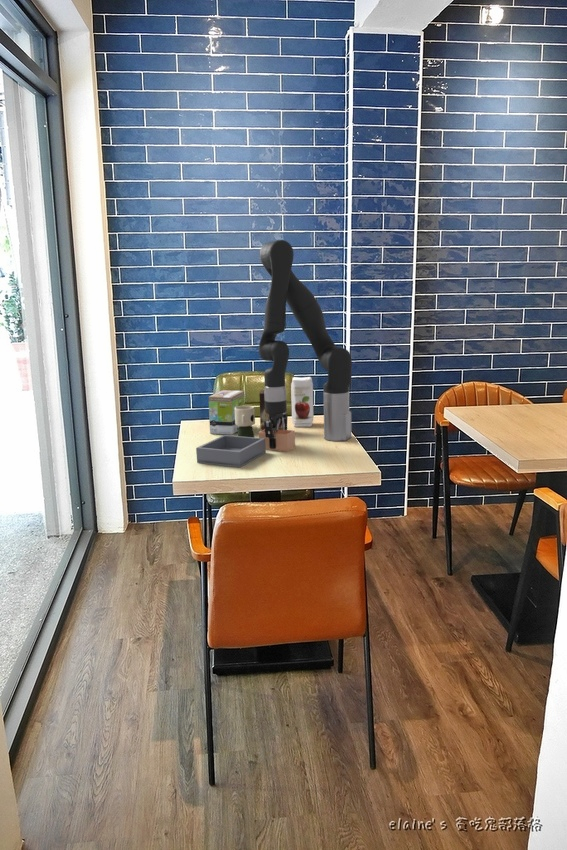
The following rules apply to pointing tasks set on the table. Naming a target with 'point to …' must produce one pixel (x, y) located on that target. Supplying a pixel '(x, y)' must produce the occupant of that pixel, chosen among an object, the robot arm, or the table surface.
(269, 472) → the table surface
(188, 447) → the table surface
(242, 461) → the charcoal crate
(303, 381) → the juice carton
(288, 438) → the terracotta crate
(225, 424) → the tea box
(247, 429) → the character mug
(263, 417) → the coffee box
